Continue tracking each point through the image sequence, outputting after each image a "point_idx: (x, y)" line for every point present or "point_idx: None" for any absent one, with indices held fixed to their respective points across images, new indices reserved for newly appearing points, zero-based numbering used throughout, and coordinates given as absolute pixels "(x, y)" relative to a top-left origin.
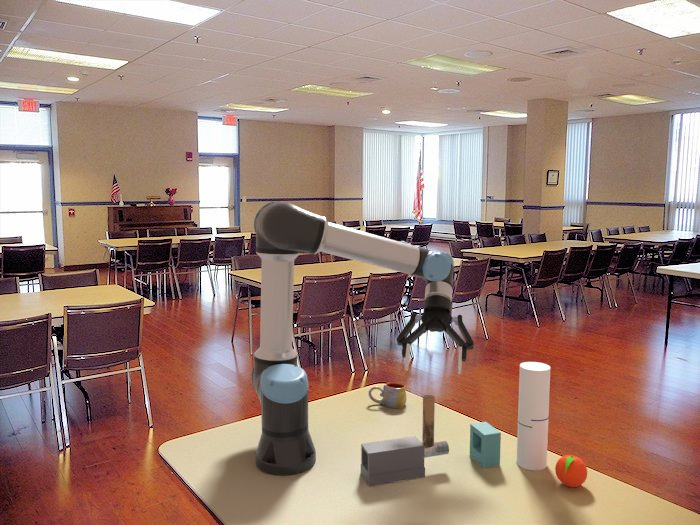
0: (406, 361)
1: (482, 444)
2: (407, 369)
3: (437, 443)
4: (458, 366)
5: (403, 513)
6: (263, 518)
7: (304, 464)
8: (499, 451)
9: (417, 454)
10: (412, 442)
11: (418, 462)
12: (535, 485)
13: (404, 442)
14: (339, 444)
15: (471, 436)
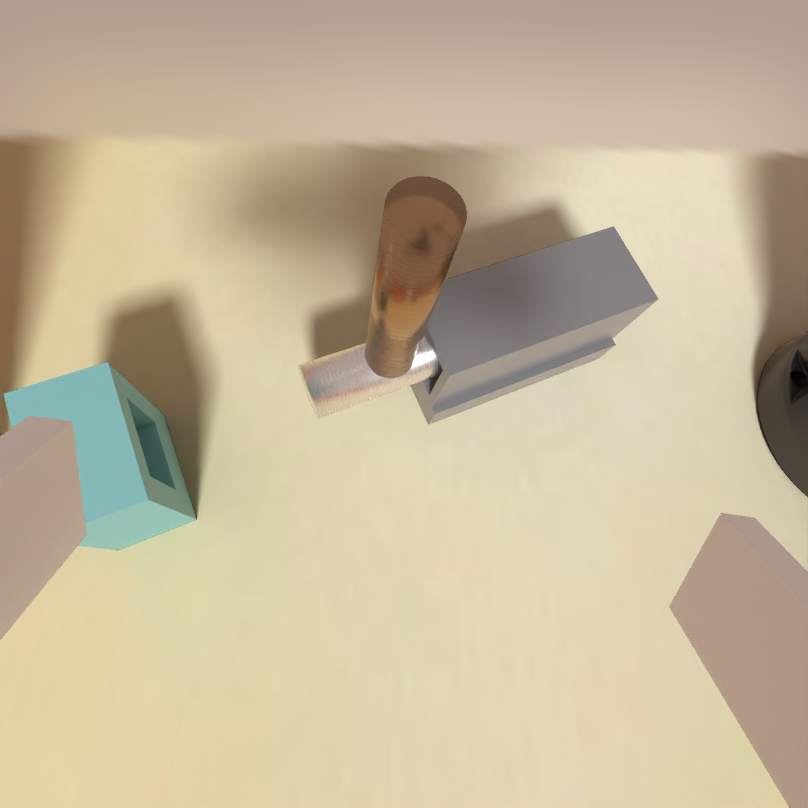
0: (776, 555)
1: (134, 397)
2: (686, 584)
3: (348, 360)
4: (42, 441)
5: (451, 167)
6: (761, 156)
7: (785, 353)
8: None
9: None
10: (460, 315)
11: None
12: (4, 303)
13: (493, 314)
14: None
15: (165, 495)
